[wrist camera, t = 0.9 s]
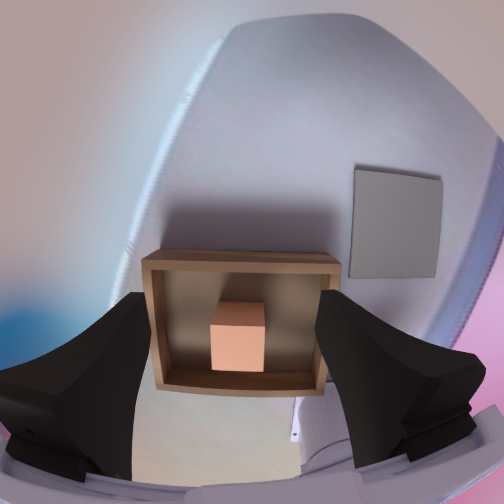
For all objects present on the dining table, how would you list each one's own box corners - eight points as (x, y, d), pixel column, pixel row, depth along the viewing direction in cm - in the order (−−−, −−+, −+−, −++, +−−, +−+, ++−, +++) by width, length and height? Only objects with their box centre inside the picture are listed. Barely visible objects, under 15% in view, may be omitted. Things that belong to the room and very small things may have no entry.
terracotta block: (262, 342, 27) (263, 371, 22) (219, 340, 27) (212, 369, 22) (263, 302, 26) (265, 326, 21) (218, 301, 26) (210, 324, 21)
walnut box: (315, 370, 29) (323, 395, 24) (168, 365, 29) (156, 389, 25) (327, 252, 27) (341, 263, 22) (158, 249, 27) (141, 259, 22)
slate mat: (432, 276, 27) (434, 277, 26) (348, 277, 27) (349, 278, 27) (440, 181, 25) (442, 181, 25) (354, 169, 25) (355, 169, 25)
